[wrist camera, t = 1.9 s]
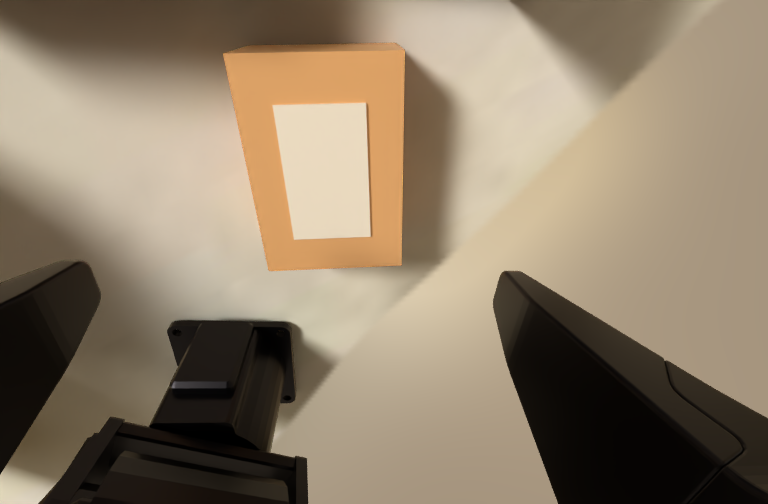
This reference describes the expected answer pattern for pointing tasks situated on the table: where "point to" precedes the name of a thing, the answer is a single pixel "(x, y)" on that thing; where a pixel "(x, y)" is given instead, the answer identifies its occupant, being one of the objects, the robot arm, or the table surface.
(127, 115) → the table surface
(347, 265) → the orange rectangular block
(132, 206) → the table surface
